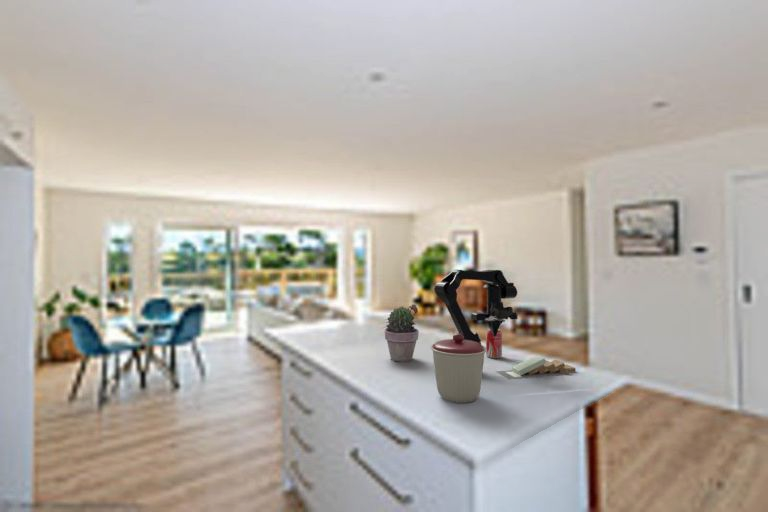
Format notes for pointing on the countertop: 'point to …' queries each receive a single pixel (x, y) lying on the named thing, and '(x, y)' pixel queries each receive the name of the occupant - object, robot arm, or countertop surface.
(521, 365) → the tile
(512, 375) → the domino mat
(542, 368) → the tile
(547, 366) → the tile
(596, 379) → the countertop surface
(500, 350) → the soda can
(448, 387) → the canister
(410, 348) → the potted plant
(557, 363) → the tile
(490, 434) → the countertop surface
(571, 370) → the end tile
